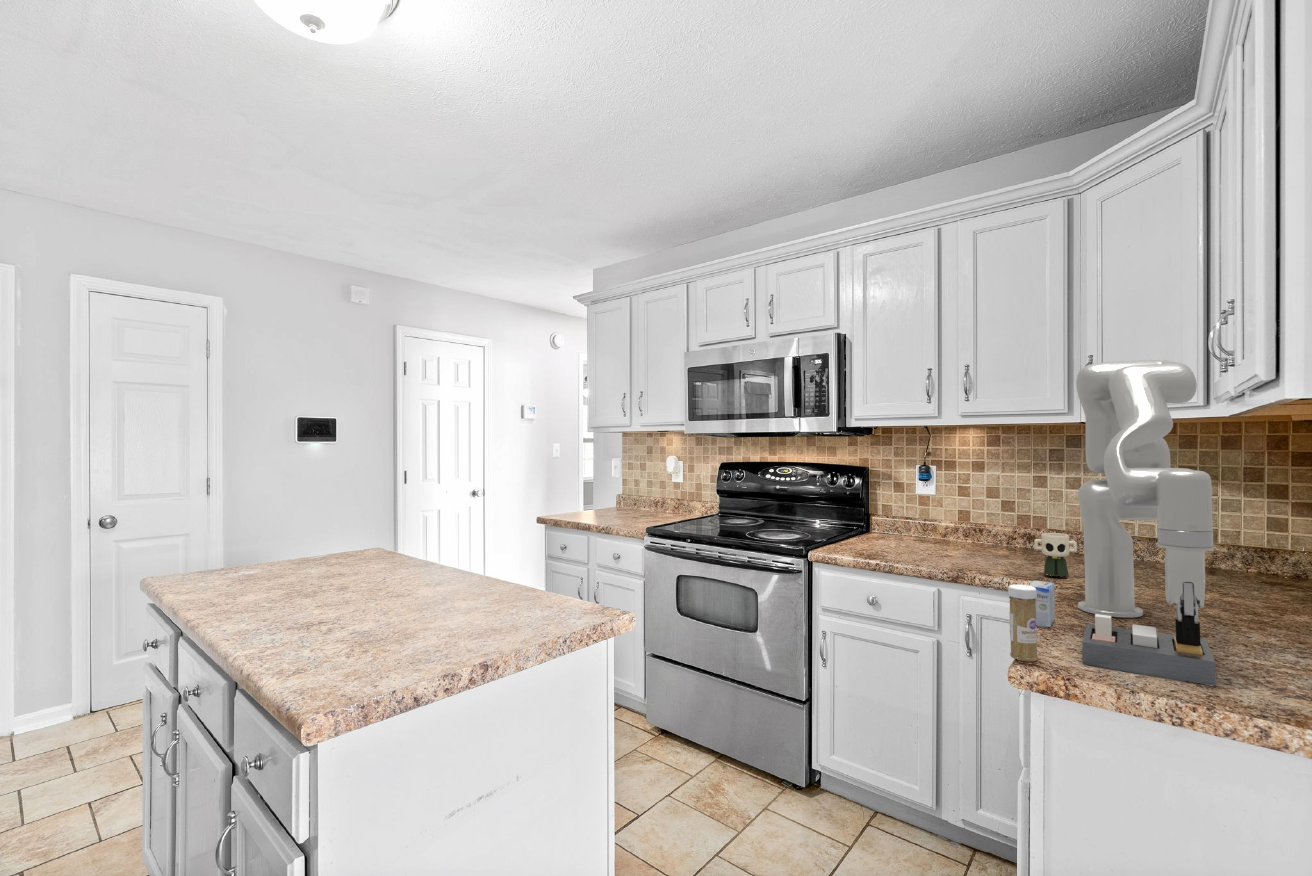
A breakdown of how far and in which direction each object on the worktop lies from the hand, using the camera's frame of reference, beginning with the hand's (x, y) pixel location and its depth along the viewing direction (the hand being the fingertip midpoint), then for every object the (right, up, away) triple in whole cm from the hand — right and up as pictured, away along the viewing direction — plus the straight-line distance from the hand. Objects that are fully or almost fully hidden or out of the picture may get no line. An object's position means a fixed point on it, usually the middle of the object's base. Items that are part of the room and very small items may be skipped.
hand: (1188, 643), depth 109 cm
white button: (-5, -1, +4) cm, 6 cm away
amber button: (0, -2, 0) cm, 2 cm away
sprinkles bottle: (-25, -5, +7) cm, 26 cm away
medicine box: (-7, -6, +30) cm, 32 cm away
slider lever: (-11, -2, +6) cm, 12 cm away
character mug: (+28, -6, +79) cm, 84 cm away
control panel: (-5, -5, +4) cm, 8 cm away
